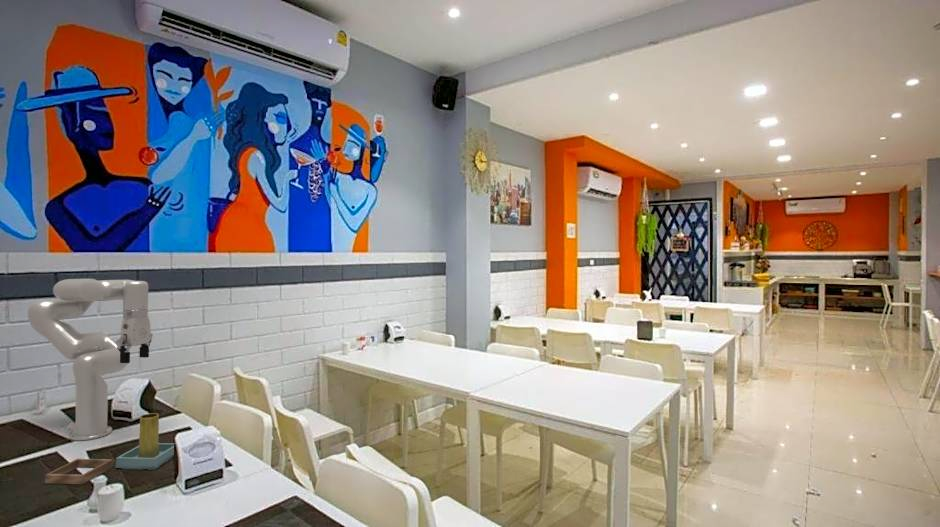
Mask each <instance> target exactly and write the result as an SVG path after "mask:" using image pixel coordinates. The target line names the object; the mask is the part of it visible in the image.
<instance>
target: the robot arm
mask: <svg viewBox="0 0 940 527" xmlns="http://www.w3.org/2000/svg"><path fill="white" fill-rule="evenodd" d="M52 293H53V295H54V296H55V297H56V298H49V299H48V298H47V299H42V300H38V301H35V302H34V303H32V304H31V305H30V306H29V307H28V309H27V318H28V322H29V324H30V326H31V327H32V329H33V330H34V331H36V333H37V334H39V335H41V336H42V337H43V338H45V339H46V340H47V341H48V342H49V343H51V345H52V346H53V347H54V348H55V349H56V350H57V351H58V352H59V353H60V354H61V355H63V357H65V358H66V359H68V360H70V361H71V360H73V361H72V362H73V363H72V372H73V376H74V382H75V422H70V423H68V425H67V426H66V430H67V431H69V430H71V431H72V433H70V434H69V438H70V440H72V441H89V440H94V439H99V438H102V437H105V436H107V435H110V434H111V433H112V432H113V427H111V425H110V426H109V425H108V396H109V392H108V390H109V389H108V387H109V386H108V384H107V382H106V381H105V380H104V379H103V376H105V375H109V374H113V373H117V372H120V371H123V370H124V369H125V368H126V367H127V366H128V364H130V363H131V352H130V349H131V348H132V347H138V346H139V358H145V359H146V358H147V359H148V358H149V356H150V347H151V342H152V338H153V337H154V336H153V335H154V334H153V333H152V331H151V330H152V329H151V322H150V317H149V283H148V282H147V281H145V280H132V279H106V280H97V279H95V278H68V279H62V280H60V281H58V282H57V283H55V284H54V286H53V288H52ZM122 300H123V301H122ZM110 301H122V306H123V307H122V321H121V327H120V334H119V336H120V337H119V338H118V339H117V340H116V341H115V340H113V339H112V337H110V336H109V335H108V334H106V333H104V332H100V331H99V332H88V333H80V332H79V331H77V329H76V328H75V327H73V326H72V325H71V324H69V323H66V322H64V321H61V320H70V319H77V318H80V317H81V316H83V315H85V314H86V312H87V311H88V310H89V309H90V307H91V306H92V305H93V304H94V303H95V302H110Z"/></svg>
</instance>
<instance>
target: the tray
mask: <svg viewBox="0 0 940 527" xmlns="http://www.w3.org/2000/svg"><path fill="white" fill-rule="evenodd" d="M174 444H175V443H169V442H167V443H166V442H159V455H158V456H156V457H155V458H138V453H139V445H137V446H135V447H134V448H132V449H130V450H128V451H126V452H125V453H122V454H120V455H119V456H118V457H116V458H115V469H116V468H122V469H121V470H143V469H148V470H149V471H155V470H156V469H158V468H160V467H161V466H162V464H163V463H164V464H166V463H167V462H168V460H169V461H170V460H172V459H173V458H174V457H173V455H174ZM172 457H173V458H172ZM171 458H172V459H171ZM165 462H166V463H165ZM164 464H163V465H164ZM160 465H161V466H160Z"/></svg>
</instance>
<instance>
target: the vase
mask: <svg viewBox="0 0 940 527" xmlns="http://www.w3.org/2000/svg"><path fill="white" fill-rule="evenodd" d="M159 417H160V414H159V413H156V412H153V413H145V414H142V415H140V416H139V437H138V438H139V439H138V446H139V453H138V458H155V457H156V456H158V455H159V443H160V441H159V439H160V438H159V436H160V433H159V430H160V429H159V428H160V426H159V420H160V418H159Z"/></svg>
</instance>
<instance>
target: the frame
mask: <svg viewBox="0 0 940 527" xmlns="http://www.w3.org/2000/svg"><path fill="white" fill-rule="evenodd" d="M113 460H114V459H110V458H109V459H108V458H107V459H106V458H102V459H101V458H76V459H73V460H72V461H70V462H68V463H67V464H63V465H62V466H60V467H58V468H56V469H54V470H52V471H50V472H48V473H46V474H44V484H58V485H84V484H86V483H87V482H89V481H92V480H93V479H95V478H96V477H98V476H100V475H101V474H103V473H105V472H107V471H109V470H110V469H112V468H114V461H113ZM77 468H87V469H90V470H88V471H87V472H85V473H83V474H69V473H70V472H72V471H74V470H76V469H77ZM108 469H109V470H108ZM95 476H96V477H95ZM94 477H95V478H94Z"/></svg>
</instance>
